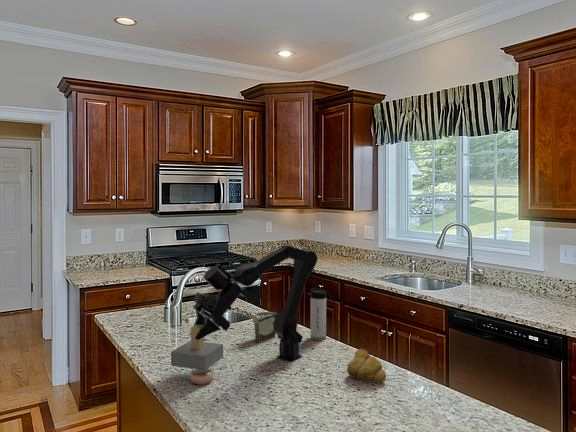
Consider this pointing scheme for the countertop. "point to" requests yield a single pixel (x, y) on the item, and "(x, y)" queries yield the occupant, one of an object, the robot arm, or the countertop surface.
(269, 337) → the food container
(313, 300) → the travel mug
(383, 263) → the countertop surface
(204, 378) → the bowl
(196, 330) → the cover
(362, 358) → the bread roll
